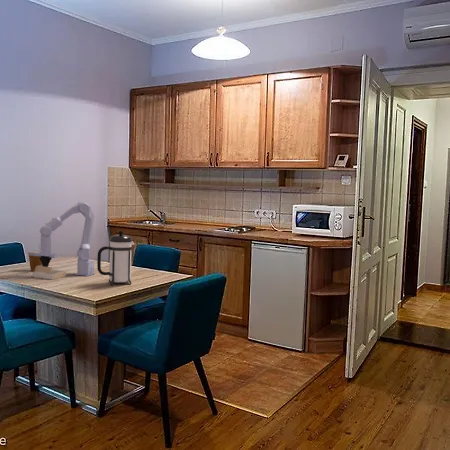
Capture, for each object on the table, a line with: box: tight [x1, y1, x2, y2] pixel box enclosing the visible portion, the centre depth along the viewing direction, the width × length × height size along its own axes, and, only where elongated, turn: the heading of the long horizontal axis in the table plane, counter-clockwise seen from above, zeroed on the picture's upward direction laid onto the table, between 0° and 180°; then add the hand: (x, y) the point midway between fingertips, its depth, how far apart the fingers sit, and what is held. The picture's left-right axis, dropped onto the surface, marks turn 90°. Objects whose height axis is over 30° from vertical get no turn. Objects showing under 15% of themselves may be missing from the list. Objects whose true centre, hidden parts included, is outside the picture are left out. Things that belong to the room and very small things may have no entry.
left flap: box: [35, 266, 53, 273], centre depth 281 cm, size 10×4×1 cm
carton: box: [32, 269, 67, 281], centre depth 286 cm, size 14×12×3 cm
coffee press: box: [96, 230, 136, 286], centre depth 273 cm, size 17×16×30 cm
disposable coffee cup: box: [27, 250, 42, 272], centre depth 303 cm, size 10×10×12 cm
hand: (45, 269), depth 286 cm, fingers closed
